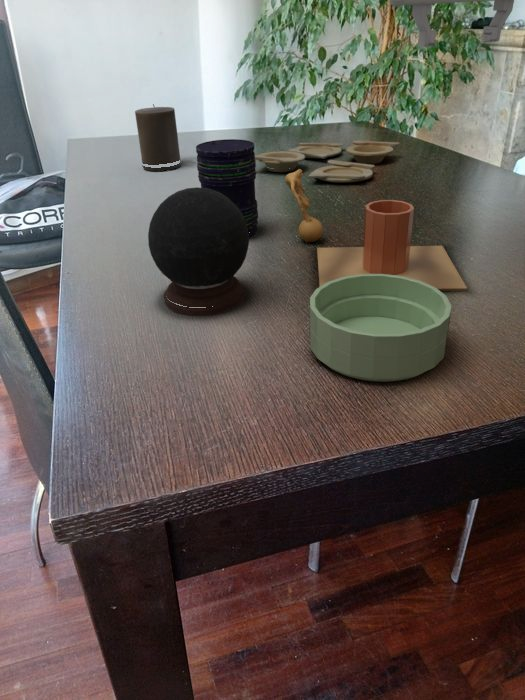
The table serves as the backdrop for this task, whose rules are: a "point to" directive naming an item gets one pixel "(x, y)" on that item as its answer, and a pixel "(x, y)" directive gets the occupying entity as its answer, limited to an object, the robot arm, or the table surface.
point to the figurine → (304, 209)
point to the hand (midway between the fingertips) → (458, 44)
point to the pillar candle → (158, 137)
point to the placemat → (423, 266)
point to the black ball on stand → (199, 250)
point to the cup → (387, 236)
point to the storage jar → (231, 174)
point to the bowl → (379, 326)
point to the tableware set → (339, 169)
